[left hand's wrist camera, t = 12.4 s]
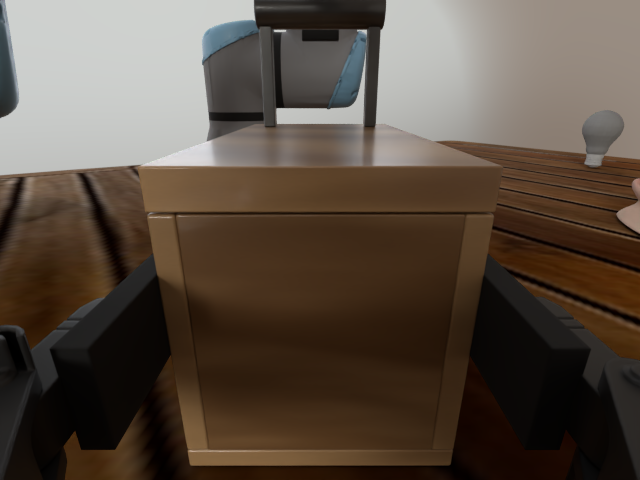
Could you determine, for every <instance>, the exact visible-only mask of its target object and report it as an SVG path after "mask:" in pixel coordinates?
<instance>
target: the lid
mask: <svg viewBox="0 0 640 480" xmlns="http://www.w3.org/2000/svg"><path fill="white" fill-rule="evenodd" d="M385 12H386V0H254V13H255V21H256V26H257V29H259V31H260V51H261V70H262V90H263V109H264V124H254V125H251V126H249V127H246V128H243V129H240V130H238V131H235V132H232V133H229V134H226V135H224V136H221V137H218V138H215V139H213V140H210V141H207V142H204V143H202V144H199V145H196V146H194V147H191V148H188V149H185V150H182V151H180V152H177V153H174V154H171V155H168V156H166V157H163V158H160V159H157V160H155V161H152V162H149V163H146V164H144V165H141V166H138V172H139V178H140V184H141V189H142V195H143V201H144V206H145V211H146V212H495V210H496V205H497V199H498V193H499V188H500V182H501V176H502V170H503V167H502V166H500V165H497V164H495V163H492V162H489V161H486V160H483V159H481V158H478V157H475V156H472V155H469V154H467V153H464V152H461V151H458V150H456V149H453V148H450V147H447V146H444V145H442V144H439V143H436V142H433V141H430V140H428V139H425V138H422V137H419V136H416V135H414V134H411V133H408V132H405V131H403V130H400V129H397V128H394V127H391V126H389V125H386V124H376V107H377V87H378V68H379V48H380V30H381V29H382V28H383V26H384V21H385ZM273 30H367V45H366V71H365V95H364V120H363V124H277V122H276V97H275V72H274V47H273Z"/></svg>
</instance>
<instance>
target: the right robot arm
mask: <svg viewBox="0 0 640 480" xmlns="http://www.w3.org/2000/svg"><path fill="white" fill-rule="evenodd" d="M366 39H367V37H366V34H365V33H363V32H362V31H359V32H357V30H286V32H274V30H273V47H274V72H275V97H276V108H327V109H330V108H343V107H349V106H351V105H352V104H353V103H354V102H355V100H356V98H357V95H358V92H359V87H360V82H361V78H362V72H363V66H364V60H365V52H366ZM202 48H203V60H202V65H203V66H204V75H205V84H206V93H207V103H208V112H209V122H210V128H209V133H208V137H207V141H210V140H213V139H215V138H218V137H221V136H224V135H226V134H229V133H232V132H235V131H238V130H240V129H243V128H246V127H249V126H251V125H254V124H264V109H263V90H262V70H261V51H260V31H259V29H257V26H256V21H253V20H243V21H235V22H229V23H224V24H220V25H217V26H214V27H212V28H210V29H209V30H207V31H206V32H205V34H204V36H203V39H202ZM276 122H277V121H276Z"/></svg>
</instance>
